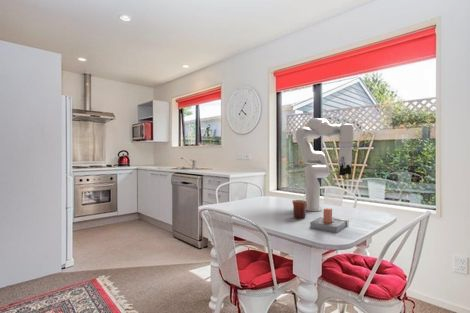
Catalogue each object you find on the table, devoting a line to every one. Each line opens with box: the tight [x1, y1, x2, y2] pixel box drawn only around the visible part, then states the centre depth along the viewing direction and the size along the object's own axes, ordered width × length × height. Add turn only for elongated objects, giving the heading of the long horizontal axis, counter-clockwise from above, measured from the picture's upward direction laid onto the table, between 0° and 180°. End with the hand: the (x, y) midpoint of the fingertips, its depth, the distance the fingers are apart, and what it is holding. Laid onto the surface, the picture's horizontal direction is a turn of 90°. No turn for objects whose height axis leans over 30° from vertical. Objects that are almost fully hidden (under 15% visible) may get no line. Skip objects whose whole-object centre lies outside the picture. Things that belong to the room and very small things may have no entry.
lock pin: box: [322, 207, 333, 223], centre depth 146 cm, size 3×3×10 cm
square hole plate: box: [309, 217, 347, 234], centre depth 146 cm, size 14×14×3 cm
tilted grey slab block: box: [332, 216, 350, 228], centre depth 153 cm, size 10×3×3 cm, turn 52°
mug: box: [291, 199, 307, 220], centre depth 168 cm, size 12×9×10 cm
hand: (345, 174), depth 160 cm, fingers open, 9 cm apart
